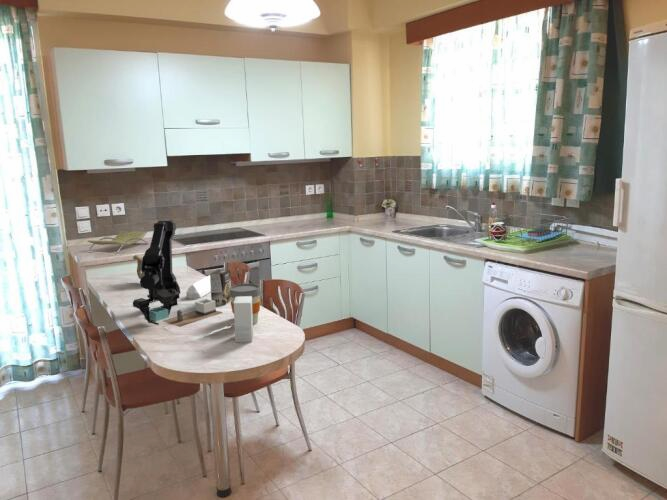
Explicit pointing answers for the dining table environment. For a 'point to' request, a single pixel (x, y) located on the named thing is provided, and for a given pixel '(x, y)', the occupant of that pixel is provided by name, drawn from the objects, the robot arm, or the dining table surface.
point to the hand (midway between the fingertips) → (158, 318)
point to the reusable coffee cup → (247, 291)
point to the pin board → (188, 318)
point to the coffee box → (220, 286)
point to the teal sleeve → (158, 314)
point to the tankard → (139, 267)
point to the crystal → (199, 289)
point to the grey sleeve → (205, 307)
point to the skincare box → (243, 319)
